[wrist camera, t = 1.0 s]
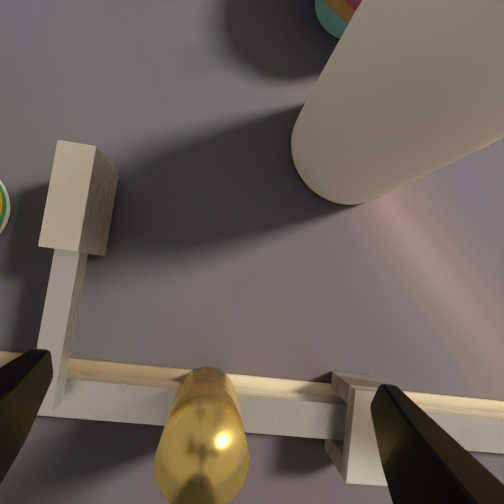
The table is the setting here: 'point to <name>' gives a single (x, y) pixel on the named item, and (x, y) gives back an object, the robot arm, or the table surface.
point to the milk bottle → (402, 97)
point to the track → (342, 385)
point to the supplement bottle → (4, 207)
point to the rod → (194, 383)
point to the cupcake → (335, 14)
